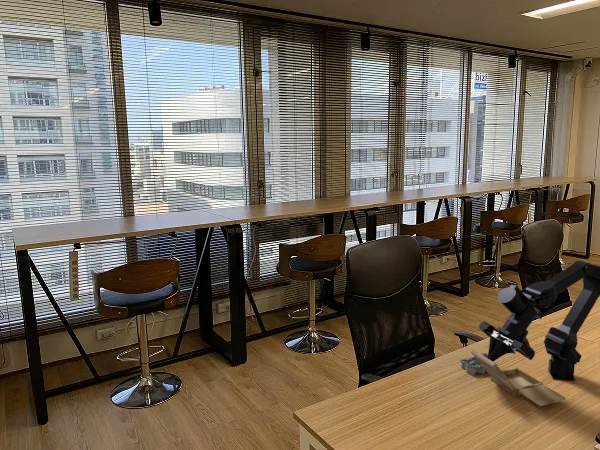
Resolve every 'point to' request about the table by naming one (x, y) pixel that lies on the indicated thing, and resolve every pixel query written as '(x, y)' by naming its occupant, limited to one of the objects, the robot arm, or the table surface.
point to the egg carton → (473, 365)
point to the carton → (529, 387)
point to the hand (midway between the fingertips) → (488, 361)
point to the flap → (492, 369)
